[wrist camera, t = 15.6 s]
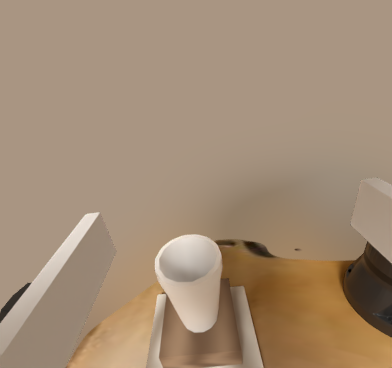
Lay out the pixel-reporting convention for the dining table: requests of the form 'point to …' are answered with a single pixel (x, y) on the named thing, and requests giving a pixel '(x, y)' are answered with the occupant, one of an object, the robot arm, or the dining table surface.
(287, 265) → the dining table surface
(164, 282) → the foam cup
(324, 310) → the dining table surface
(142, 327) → the dining table surface
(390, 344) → the dining table surface
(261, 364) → the build base
